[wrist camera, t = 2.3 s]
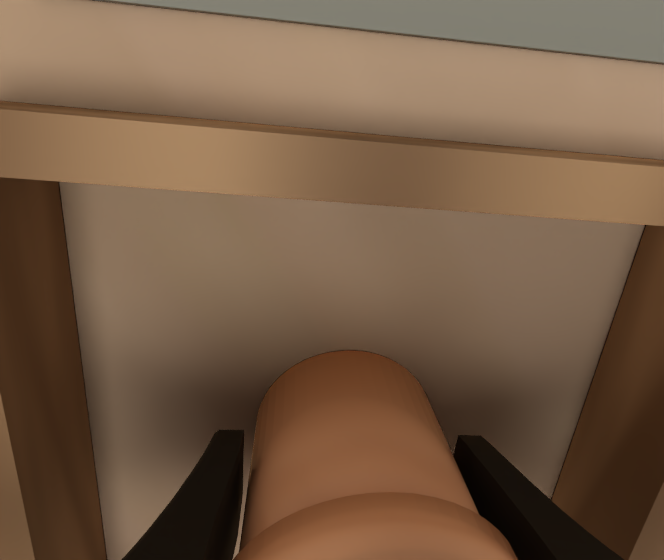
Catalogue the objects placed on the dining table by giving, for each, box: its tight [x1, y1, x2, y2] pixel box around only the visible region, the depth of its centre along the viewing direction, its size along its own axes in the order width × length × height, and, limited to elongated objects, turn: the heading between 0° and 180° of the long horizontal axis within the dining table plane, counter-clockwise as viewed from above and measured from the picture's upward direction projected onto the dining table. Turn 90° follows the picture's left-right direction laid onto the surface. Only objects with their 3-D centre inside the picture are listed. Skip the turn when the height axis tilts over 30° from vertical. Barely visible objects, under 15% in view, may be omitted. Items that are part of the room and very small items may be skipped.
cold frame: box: [0, 101, 664, 560], centre depth 11 cm, size 16×16×3 cm
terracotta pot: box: [233, 350, 518, 560], centre depth 10 cm, size 6×6×6 cm
